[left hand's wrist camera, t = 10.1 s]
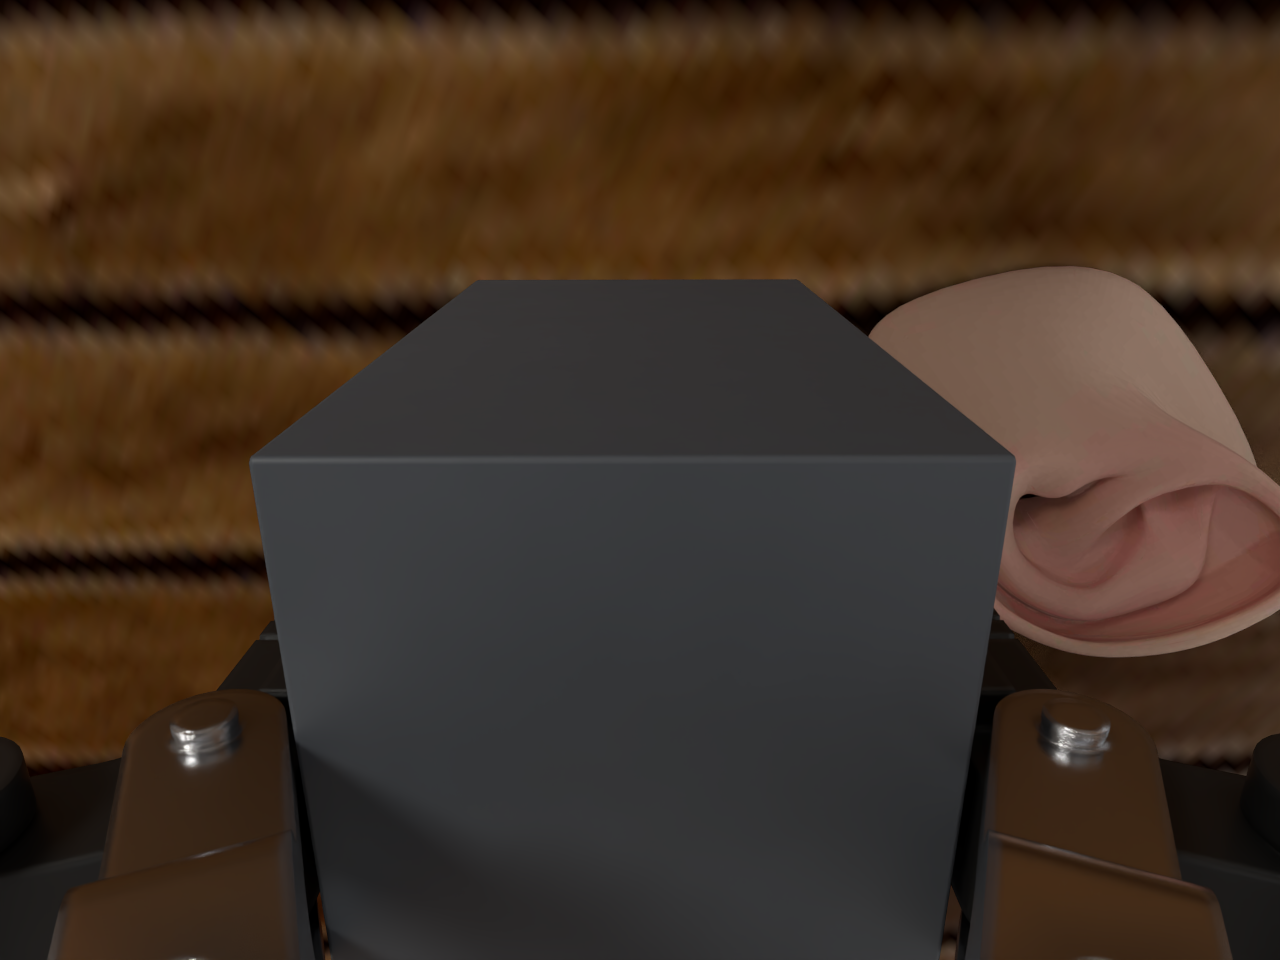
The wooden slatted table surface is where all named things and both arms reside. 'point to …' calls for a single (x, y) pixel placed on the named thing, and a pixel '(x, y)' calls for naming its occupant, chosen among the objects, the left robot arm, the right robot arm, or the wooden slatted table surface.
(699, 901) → the bar
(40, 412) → the wooden slatted table surface
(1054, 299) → the anatomical model
